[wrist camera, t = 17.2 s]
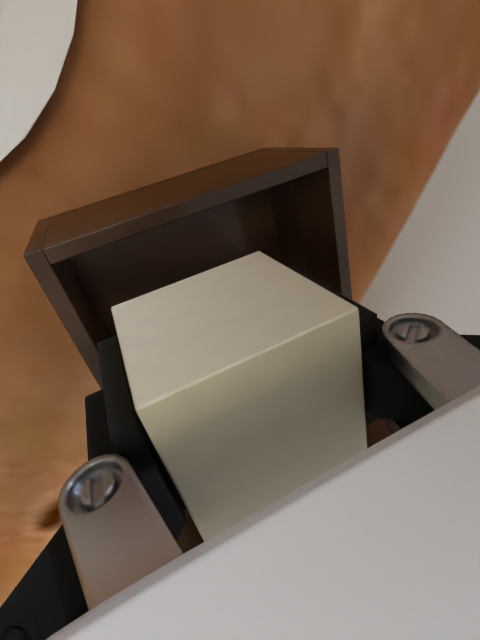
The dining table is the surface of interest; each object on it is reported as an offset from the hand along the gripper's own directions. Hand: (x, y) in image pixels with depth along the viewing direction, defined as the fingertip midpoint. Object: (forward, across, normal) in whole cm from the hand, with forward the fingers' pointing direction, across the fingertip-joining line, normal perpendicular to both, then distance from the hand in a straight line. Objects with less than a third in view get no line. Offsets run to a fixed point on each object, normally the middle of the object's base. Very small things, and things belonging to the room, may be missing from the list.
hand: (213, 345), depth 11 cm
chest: (+17, -3, +4) cm, 18 cm away
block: (0, 0, 0) cm, 0 cm away
